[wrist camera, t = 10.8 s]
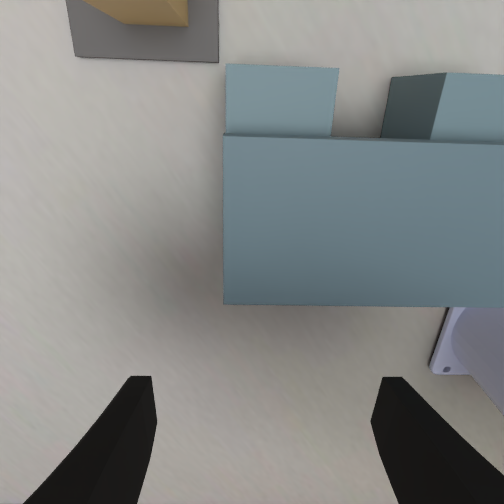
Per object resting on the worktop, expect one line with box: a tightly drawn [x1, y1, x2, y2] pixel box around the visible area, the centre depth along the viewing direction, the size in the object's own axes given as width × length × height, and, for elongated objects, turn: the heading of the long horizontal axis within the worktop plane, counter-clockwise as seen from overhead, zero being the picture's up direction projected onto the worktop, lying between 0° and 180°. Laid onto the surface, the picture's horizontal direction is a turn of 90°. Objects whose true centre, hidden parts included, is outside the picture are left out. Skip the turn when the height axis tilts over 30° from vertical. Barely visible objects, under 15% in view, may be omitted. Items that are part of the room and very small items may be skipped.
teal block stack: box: [223, 64, 504, 308], centre depth 14 cm, size 11×8×6 cm
